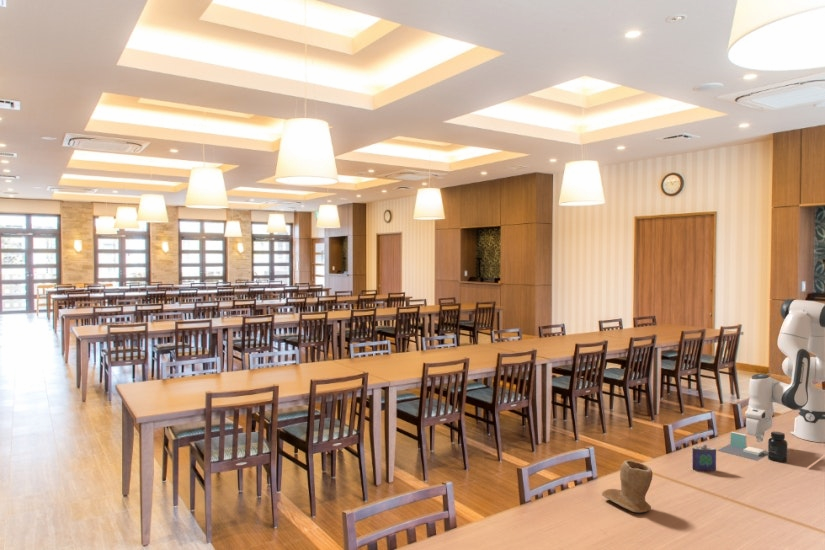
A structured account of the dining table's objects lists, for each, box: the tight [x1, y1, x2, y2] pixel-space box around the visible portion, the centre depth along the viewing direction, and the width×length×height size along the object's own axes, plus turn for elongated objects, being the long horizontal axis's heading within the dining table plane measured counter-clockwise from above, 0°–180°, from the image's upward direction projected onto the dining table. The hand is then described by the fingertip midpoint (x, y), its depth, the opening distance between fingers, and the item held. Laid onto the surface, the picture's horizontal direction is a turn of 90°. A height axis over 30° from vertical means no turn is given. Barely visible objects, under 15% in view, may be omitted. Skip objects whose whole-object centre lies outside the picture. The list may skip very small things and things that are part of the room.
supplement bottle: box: [767, 431, 789, 464], centre depth 231 cm, size 7×7×12 cm
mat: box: [716, 443, 768, 461], centre depth 242 cm, size 16×16×1 cm
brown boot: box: [601, 460, 654, 513], centre depth 188 cm, size 15×12×15 cm
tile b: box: [730, 431, 748, 449], centre depth 248 cm, size 2×6×6 cm, turn 39°
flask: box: [691, 443, 717, 472], centre depth 221 cm, size 9×3×11 cm, turn 88°
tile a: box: [743, 446, 765, 456], centre depth 240 cm, size 2×6×6 cm
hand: (759, 441), depth 244 cm, fingers closed
